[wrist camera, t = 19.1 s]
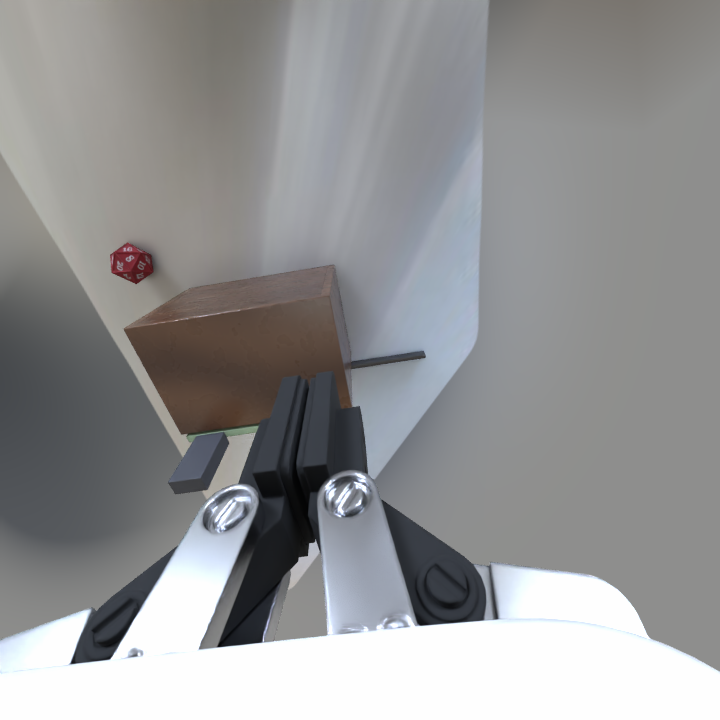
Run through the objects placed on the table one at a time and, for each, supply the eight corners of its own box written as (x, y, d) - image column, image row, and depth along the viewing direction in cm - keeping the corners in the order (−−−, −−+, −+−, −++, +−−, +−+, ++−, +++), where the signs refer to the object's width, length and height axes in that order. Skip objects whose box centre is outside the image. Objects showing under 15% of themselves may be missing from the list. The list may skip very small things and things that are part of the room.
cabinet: (189, 288, 38) (122, 328, 27) (417, 250, 37) (449, 276, 26) (228, 383, 45) (188, 448, 33) (423, 353, 44) (451, 410, 32)
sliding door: (226, 374, 44) (154, 483, 27) (348, 356, 43) (349, 456, 27) (230, 384, 45) (163, 496, 28) (350, 366, 44) (352, 470, 28)
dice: (123, 236, 35) (98, 240, 32) (165, 253, 36) (145, 259, 33) (120, 267, 37) (96, 275, 33) (160, 282, 38) (140, 291, 34)
